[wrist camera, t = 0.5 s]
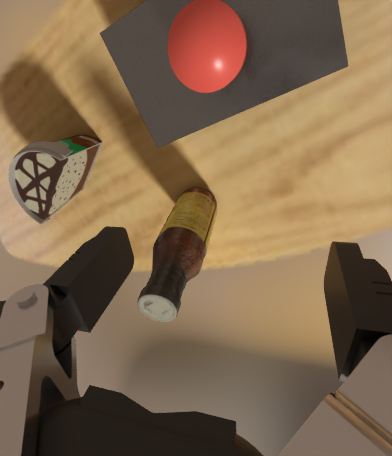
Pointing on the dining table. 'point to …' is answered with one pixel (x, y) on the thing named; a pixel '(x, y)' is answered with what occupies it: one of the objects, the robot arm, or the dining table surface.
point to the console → (250, 72)
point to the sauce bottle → (178, 253)
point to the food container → (51, 173)
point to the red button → (207, 45)
